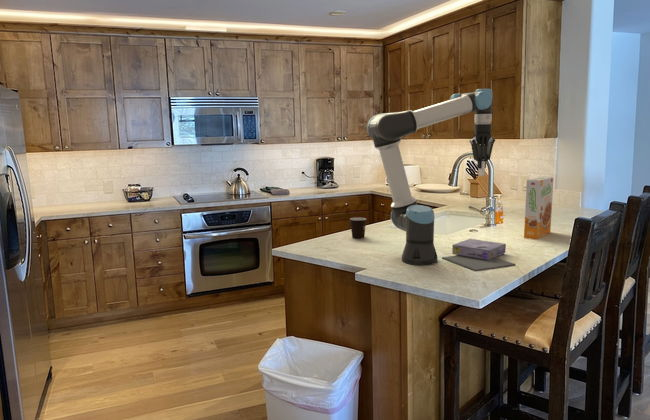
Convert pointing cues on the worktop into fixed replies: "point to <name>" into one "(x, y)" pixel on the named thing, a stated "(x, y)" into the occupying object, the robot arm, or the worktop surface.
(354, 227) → the coffee mug
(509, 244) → the worktop surface
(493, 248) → the cake pan box
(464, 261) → the mat
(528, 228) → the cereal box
